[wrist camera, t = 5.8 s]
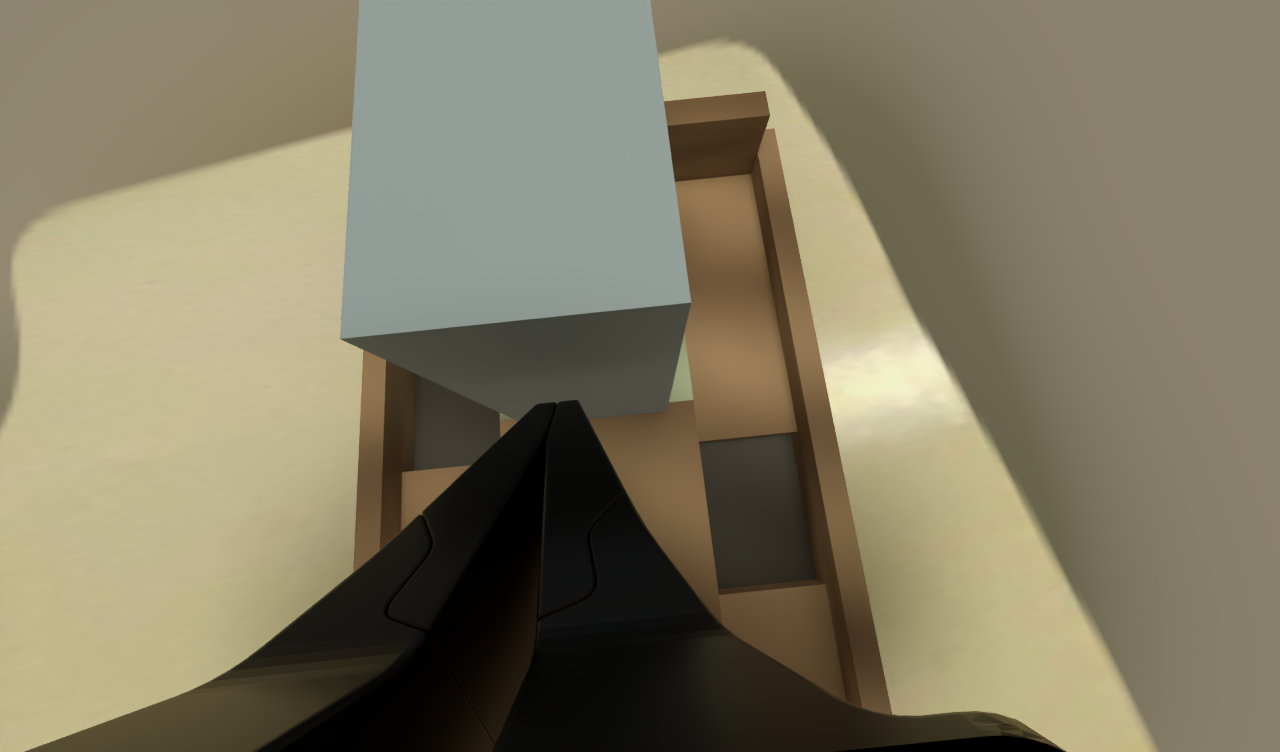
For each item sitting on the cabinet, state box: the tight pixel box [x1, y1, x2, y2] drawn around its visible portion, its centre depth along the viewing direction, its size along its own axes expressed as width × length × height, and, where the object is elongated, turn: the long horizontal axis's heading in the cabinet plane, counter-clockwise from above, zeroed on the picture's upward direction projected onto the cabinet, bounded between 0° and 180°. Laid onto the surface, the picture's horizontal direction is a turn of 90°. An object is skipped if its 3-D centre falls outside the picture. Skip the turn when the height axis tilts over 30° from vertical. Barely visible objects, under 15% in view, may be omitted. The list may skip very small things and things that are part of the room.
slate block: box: [340, 0, 691, 421], centre depth 12 cm, size 8×5×10 cm, turn 6°
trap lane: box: [354, 91, 892, 715], centre depth 15 cm, size 24×16×4 cm, turn 6°
